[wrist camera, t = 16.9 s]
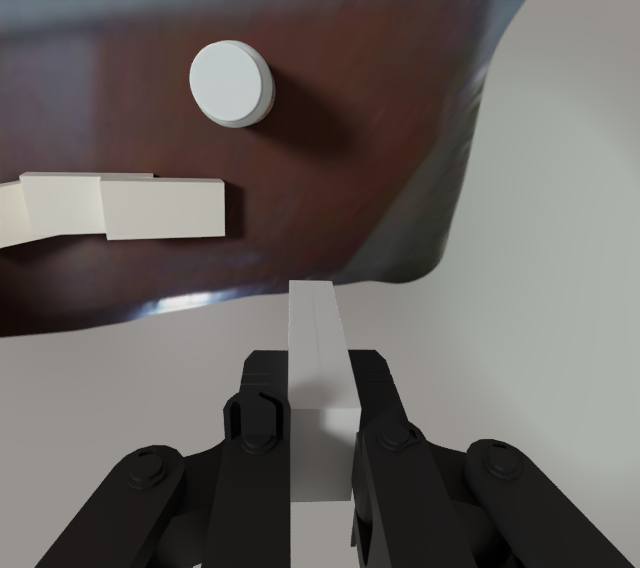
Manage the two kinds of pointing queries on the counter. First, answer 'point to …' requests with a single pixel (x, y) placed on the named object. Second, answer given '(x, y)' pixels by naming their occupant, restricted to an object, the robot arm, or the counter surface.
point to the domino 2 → (66, 201)
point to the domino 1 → (14, 216)
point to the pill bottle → (232, 84)
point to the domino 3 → (162, 207)
